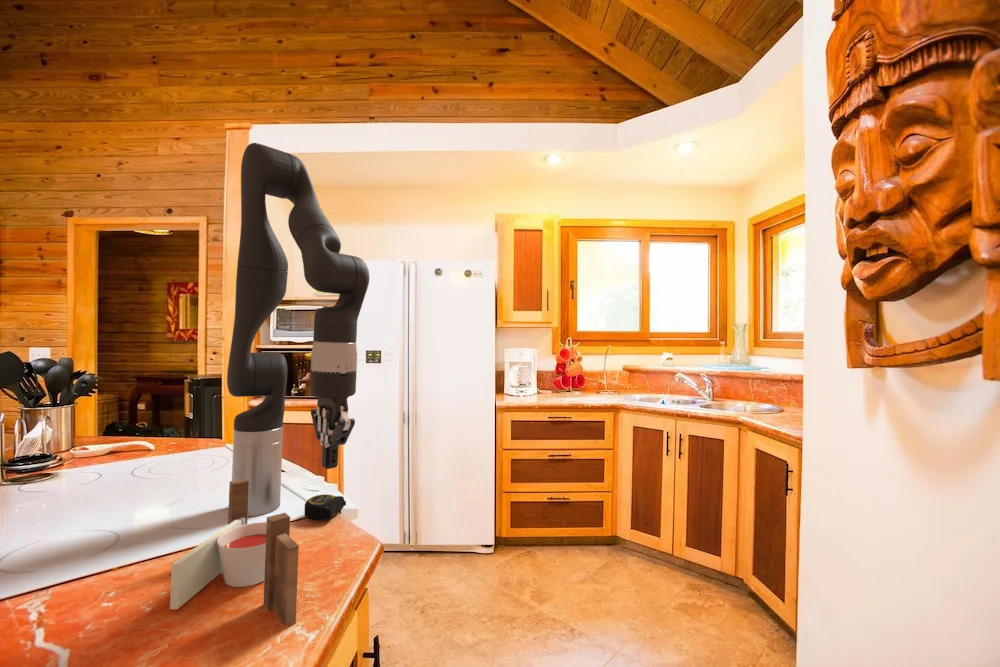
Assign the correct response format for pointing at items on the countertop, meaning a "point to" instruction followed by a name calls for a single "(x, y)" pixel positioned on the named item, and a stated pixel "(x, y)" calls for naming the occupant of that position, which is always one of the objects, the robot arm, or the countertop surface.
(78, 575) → the countertop surface
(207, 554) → the door
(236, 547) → the candle
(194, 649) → the countertop surface
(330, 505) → the tape measure
